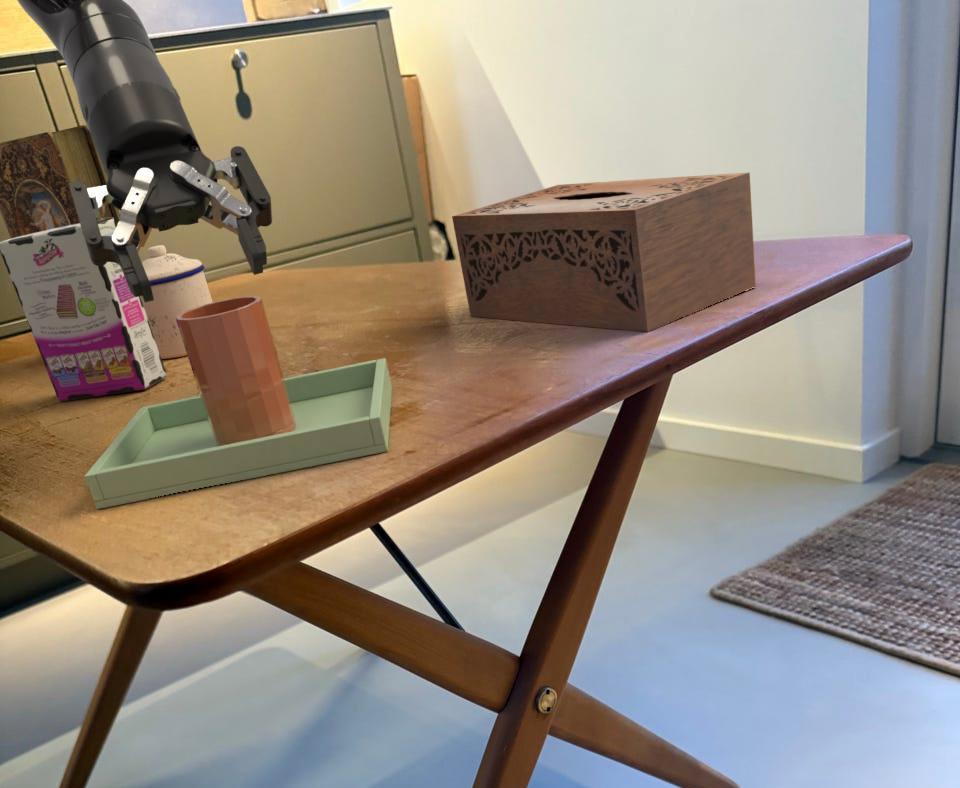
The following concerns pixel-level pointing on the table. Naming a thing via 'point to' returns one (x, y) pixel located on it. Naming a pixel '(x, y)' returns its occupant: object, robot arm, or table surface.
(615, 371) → the table surface
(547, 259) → the tissue box cover
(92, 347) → the candy bar box
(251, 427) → the cup
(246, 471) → the tray
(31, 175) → the book
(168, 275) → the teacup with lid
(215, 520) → the table surface
